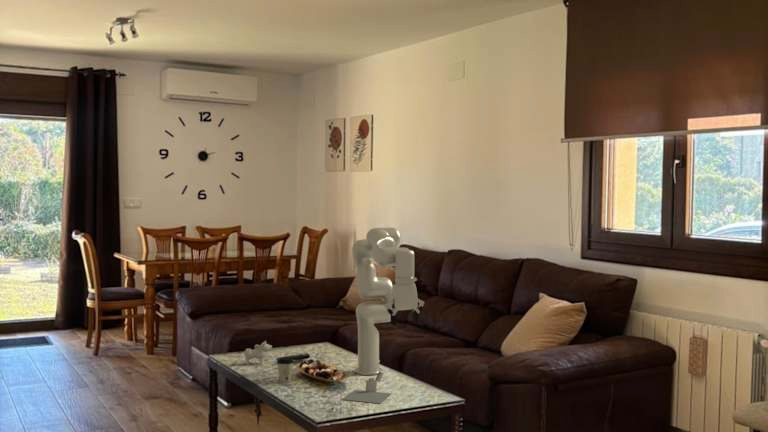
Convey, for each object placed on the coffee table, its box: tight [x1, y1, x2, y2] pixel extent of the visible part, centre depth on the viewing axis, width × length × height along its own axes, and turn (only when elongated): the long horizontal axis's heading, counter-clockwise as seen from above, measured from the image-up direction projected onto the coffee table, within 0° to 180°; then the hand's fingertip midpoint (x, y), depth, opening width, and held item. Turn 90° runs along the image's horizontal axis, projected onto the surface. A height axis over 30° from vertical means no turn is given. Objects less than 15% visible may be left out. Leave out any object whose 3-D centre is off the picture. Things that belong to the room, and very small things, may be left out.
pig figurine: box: [244, 340, 273, 366], centre depth 358 cm, size 5×13×11 cm, turn 98°
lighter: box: [365, 371, 384, 392], centre depth 314 cm, size 7×2×8 cm, turn 116°
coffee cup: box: [277, 356, 294, 384], centre depth 327 cm, size 7×7×10 cm
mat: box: [341, 389, 392, 405], centre depth 305 cm, size 14×16×1 cm
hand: (404, 324), depth 302 cm, fingers open, 9 cm apart
